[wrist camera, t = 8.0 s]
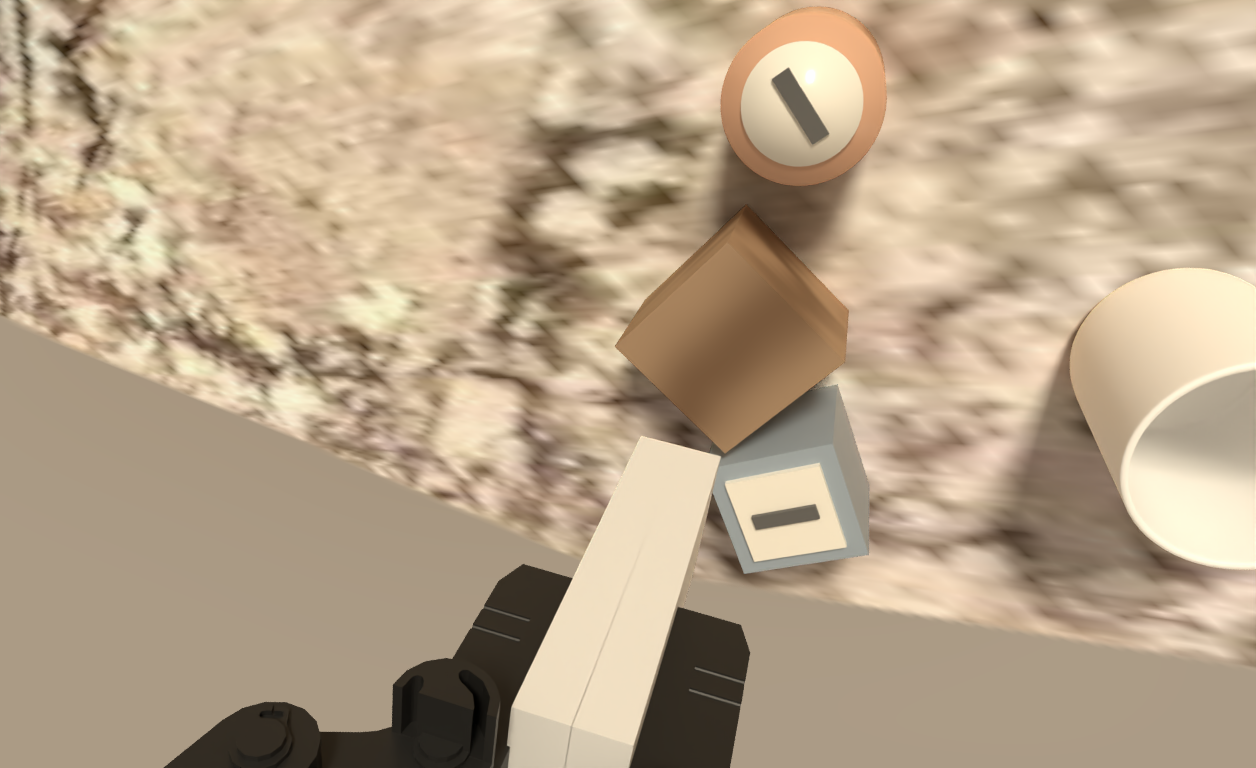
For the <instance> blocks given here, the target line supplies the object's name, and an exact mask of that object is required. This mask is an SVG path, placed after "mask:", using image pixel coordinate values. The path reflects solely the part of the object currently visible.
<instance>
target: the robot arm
mask: <svg viewBox="0 0 1256 768" xmlns="http://www.w3.org/2000/svg"><path fill="white" fill-rule="evenodd" d="M720 458H721V456H717V455H714V454H710V453H706V452H702V451H698V450H694V449H691V448H687V447H683V446H679V445H675V444H671V443H667V442H664V441H660V440H656V439H652V438H648V437H644V436H641V437H640V439H639V441H638V443H637V445H636V447H635V450H634V452H633V454H632V456H631V458H630V460H629V462H628V464H627V466H626V468H625V470H624V473H623V475H622V477H621V479H620V481H619V483H618V485H617V487H616V489H615V491H614V493H613V496H612V498H611V500H610V502H609V504H608V506H607V508H606V510H605V512H604V514H603V516H602V519H601V521H600V523H599V525H598V527H597V529H596V531H595V533H594V535H593V537H592V539H591V542H590V544H589V546H588V548H587V550H586V552H585V554H584V556H583V558H582V560H581V563H580V565H579V567H578V569H577V571H576V573H575V575H574V577H573V578H569V577H566V576H562V575H559V574H555V573H552V572H549V571H545V570H542V569H538V568H535V567H531V566H528V565H525V564H523V565H521V566H520V567H518V568H517V569H515V570H514V571H512V572H511V573H510V574H508V575H507V576H505V577H504V578H502V579H501V580H499V581H498V583H497V585H496V586H495V588H494V590H493V591H492V593H491V595H490V597H489V598H488V600H487V601H486V603H485V605H484V609H482V610H481V612H480V613H479V615H478V617H477V618H476V620H475V622H474V623H473V627H472V629H470V630H469V632H468V633H467V635H466V637H465V639H464V640H463V642H462V644H461V645H460V647H459V649H458V650H457V652H456V654H455V656H454V657H453V659H448V658H444V659H438V660H431V661H426V662H423V663H421V664H419V665H417V666H415V667H413V668H411V669H409V670H407V671H406V672H405V673H404V674H403V675H402V676H401V677H400V678H399V679H398V680H397V681H396V682H395V683H394V684H393V706H392V727H389V728H386V729H382V730H379V731H371V732H319V729H318V725H317V721H316V720H315V719H314V718H313V717H312V716H311V715H310V714H309V713H308V712H307V711H306V710H305V709H303V708H300V707H297V706H294V705H292V704H289V703H286V702H264V703H260V704H257V705H252V706H249V707H245V708H242V709H240V710H239V711H237V712H235V713H234V714H232V715H230V716H229V717H227V718H225V719H224V720H222V721H221V722H220V723H218V724H217V725H216V726H215V727H213V728H212V729H211V730H210V731H208V733H206V734H205V735H203V736H202V737H201V738H200V739H199V740H197V741H196V742H195V743H194V744H192V745H191V746H190V747H189V748H188V749H186V750H185V751H184V752H182V753H181V754H180V755H179V756H177V757H176V758H175V759H174V760H172V761H171V762H170V763H169V764H168V765H167V766H165V767H164V768H730V763H731V758H732V753H733V746H734V741H735V736H736V730H737V724H738V719H739V712H740V706H741V702H742V696H743V690H744V683H745V679H746V673H747V667H748V661H749V656H750V651H749V648H748V645H747V642H746V639H745V636H744V633H743V630H742V627H741V625H739V624H736V623H732V622H728V621H725V620H721V619H718V618H714V617H712V616H708V615H704V614H701V613H698V612H694V611H691V610H687V609H684V604H685V600H686V597H687V594H688V590H689V587H690V583H691V580H692V576H693V573H694V569H695V565H696V560H697V556H698V552H699V548H700V543H701V539H702V535H703V531H704V526H705V522H706V518H707V514H708V509H709V505H710V501H711V496H712V492H713V488H714V484H715V479H716V475H717V471H718V467H719V462H720Z"/></svg>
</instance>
